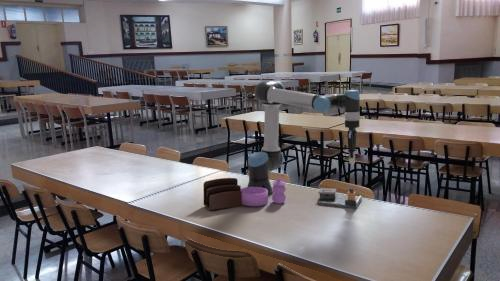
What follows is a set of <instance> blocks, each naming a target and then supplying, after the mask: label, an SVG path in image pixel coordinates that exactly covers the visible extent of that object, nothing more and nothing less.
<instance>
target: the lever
mask: <svg viewBox="0 0 500 281" xmlns="http://www.w3.org/2000/svg"><path fill="white" fill-rule="evenodd" d="M354 190H355V188H352V187H350V188H349V191H348V192H347V196H348V200H354V201H355V197H356V191H354Z"/></svg>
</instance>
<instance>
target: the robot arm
mask: <svg viewBox="0 0 500 281" xmlns="http://www.w3.org/2000/svg"><path fill="white" fill-rule="evenodd" d="M253 94H254V98H255V99H256V100H257V101H258V102H260V103H261V104H262V106H264V125H263V126H264V129H263V132H264V134H263V137H264V138H263V141H264V142H263V146H262V148H261V151H257V152H253V153H251V154H250V155H248V159H247V165H248V166H247V167H248V184H247V187H261V188H265V189H267V190H268V196H270V195H273V190H272V188H273V186H272V184H271V182H270V175H269V174H270V172H273V171H276V170H278V169H279V168H281V166H282V165H283V164H284V160H285V159H284V155H283V153H282V151H281V150H282V149H281V147H280V146H279V134H280V133H279V131H280V130H279V129H280V126H279V125H280V123H279V122H280V107H281V106H282V105H283V104H284V105H289V106H294V107H296V106H297V107H300V108H307V109H312V110H316V112H326V111H329V110H332V109H344V113H343V115H344V127H345V128H347V129H348V130H347V135H346V137H347V152H349V153H348V154H349V155H348V157H349V158H348V163H349V164H351V165H352V164H353V165H355V163H356V152H357V146H356V145H357V133H358V132H357V130H356V128H359V127H360V115H361V114H360V103H361V102H360V100H361V98H360V91H359V90H358V89H349V90H345V91H344V93H342V94H341V93H325V94H324V95H321V94H313V93H310V92H309V93H308V92H301V91H297V90H296V91H295V90H288V89H286V87H285V86H284V84H283V83H282V82H281V81H278V80H267V81H262V82H259V83H258V84H257V85H256V86H255V87H254V90H253Z"/></svg>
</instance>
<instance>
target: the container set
mask: <svg viewBox="0 0 500 281" xmlns="http://www.w3.org/2000/svg"><path fill="white" fill-rule="evenodd" d="M272 185H273V186H272V194H271V199H272V201H273V202H274V203H275V204H278V205H279V204H283V203H285V201H286V199H287V197H286V194H285V192H286V190H287V189H286V182H285V181H284V180H283V181H282V178H280V177H278V178H277V179H276V180H274V181H273V183H272ZM240 191H242V204H243V205H244V206H247V207H261V206H262V207H263V206H265V205H267V204H268V203H269V197H268V196H269V195H268V190H267V189H265V188H261V187H243V188H242V187H241V190H240Z"/></svg>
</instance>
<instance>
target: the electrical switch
mask: <svg viewBox="0 0 500 281" xmlns="http://www.w3.org/2000/svg"><path fill="white" fill-rule="evenodd" d="M336 193H337V188H318V192H317V194H318V195H319V199H321V198H325V199H334V197H335V195H337V194H336ZM326 195H329V197H328V196H326Z"/></svg>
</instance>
